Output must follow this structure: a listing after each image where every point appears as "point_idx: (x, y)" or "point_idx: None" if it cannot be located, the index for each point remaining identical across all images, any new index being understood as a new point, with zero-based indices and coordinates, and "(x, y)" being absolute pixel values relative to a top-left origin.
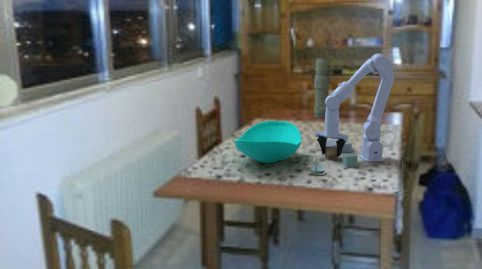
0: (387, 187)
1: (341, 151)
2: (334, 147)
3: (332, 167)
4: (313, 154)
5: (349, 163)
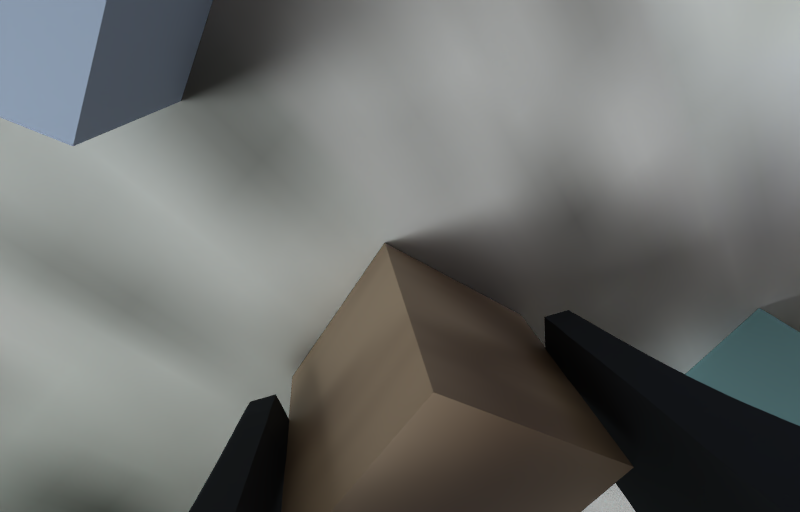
0: None
1: (633, 355)
2: (506, 473)
3: (606, 508)
4: (41, 412)
5: None
